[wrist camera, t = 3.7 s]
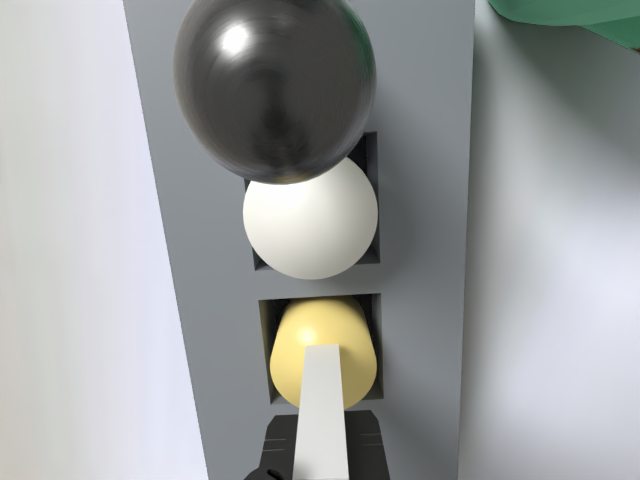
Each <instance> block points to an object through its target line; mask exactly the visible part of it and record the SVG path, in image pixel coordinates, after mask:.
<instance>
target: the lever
mask: <svg viewBox="0 0 640 480" xmlns="http://www.w3.org/2000/svg"><path fill="white" fill-rule="evenodd" d="M172 79H173V88H174V93H175V97H176V102H177V105H178V107H179V110H180V113H181V116H182V118H183V120H184V122H185V124H186V126H187V128H188V129H189V131H190V133H191V134H192V136H193V137H194V139H195V140H196V141H197V143H198V144H199V145H200V146H201V148H202V149H203V150H204V151H205V152H206V153H207V154H208V155H209V156H210V157H211V158H212V159H214V160H215V161H216V162H217V163H218V164H220V165H221V166H223V167H224V168H226V169H227V170H229V171H230V172H232V173H234V174H236V175H238V176H240V177H243V178H245V179H248V180H251V181H254V182H258V183H263V184H270V185H290V184H297V183H301V182H305V181H309V180H311V179H314V178H316V177H319V176H321V175H322V174H324V173H326V172H328V171H329V170H331V169H332V168H334V167H335V166H336V165H338V164H339V163H340V162H341V161H342V160H343V159H344V158H345V157H346V156H348V154H349V153H350V152H351V151H352V150H353V148H354V147H355V146H356V145H357V143H358V141H359V140H360V138H361V137H362V135H363V133H364V131H365V129H366V127H367V125H368V122H369V119H370V116H371V113H372V110H373V106H374V101H375V96H376V85H377V73H376V62H375V56H374V51H373V47H372V44H371V40H370V37H369V35H368V32H367V30H366V28H365V25H364V23H363V21H362V20H361V18H360V16H359V15H358V13H357V11H356V10H355V8H354V7H353V6H352V5H351V3H350V2H349V1H348V0H193V1H192V2H191V4H190V5H189V7H188V8H187V10H186V12H185V13H184V16H183V18H182V20H181V22H180V24H179V27H178V30H177V34H176V37H175V40H174V47H173V53H172Z"/></svg>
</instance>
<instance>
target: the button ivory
mask: <svg viewBox="0 0 640 480" xmlns="http://www.w3.org/2000/svg"><path fill="white" fill-rule="evenodd" d="M377 220H378V208H377V201H376V196H375V193H374V190H373V188H372V185H371V183H370V182H369V180H368V178H367V177H366V175H365V174H364V172H363V171H362V170H361V169H360V168H359V167H358V166H357V165H356V164H355V163H354V162H353V161H351V160H350V159H349V158H347V157H345V158H344V159H343V160H342V161H341V162H340V163H339V164H338V165H336V166H335V167H334V168H332V169H331V170H329V171H328V172H326V173H324V174H322V175H321V176H319V177H316V178H314V179H311V180H309V181H305V182H301V183H297V184H290V185H270V184H263V183H258V182H254V181H251V182H250V184H249V186H248V189H247V192H246V194H245V199H244V205H243V221H244V226H245V230H246V233H247V236H248V239H249V241H250V243H251V245H252V247H253V248H254V250H255V251H256V253H257V254H258V255H259V256H260V257H261V258H262V259H263V260H264V261H265V262H266V263H267V264H268V265H269V266H271V267H272V268H274V269H275V270H277V271H279V272H281V273H283V274H285V275H288V276H290V277H294V278H298V279H306V280H315V279H324V278H328V277H332V276H334V275H337V274H339V273H341V272H343V271H345V270H347V269H348V268H350V267H351V266H352V265H354V264H355V263H356V262H357V261H358V260H359V259H360V258H361V257H362V256H363V254H364V253H365V252H366V250H367V249H368V247H369V246H370V244H371V241H372V239H373V237H374V234H375V231H376V226H377Z"/></svg>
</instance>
